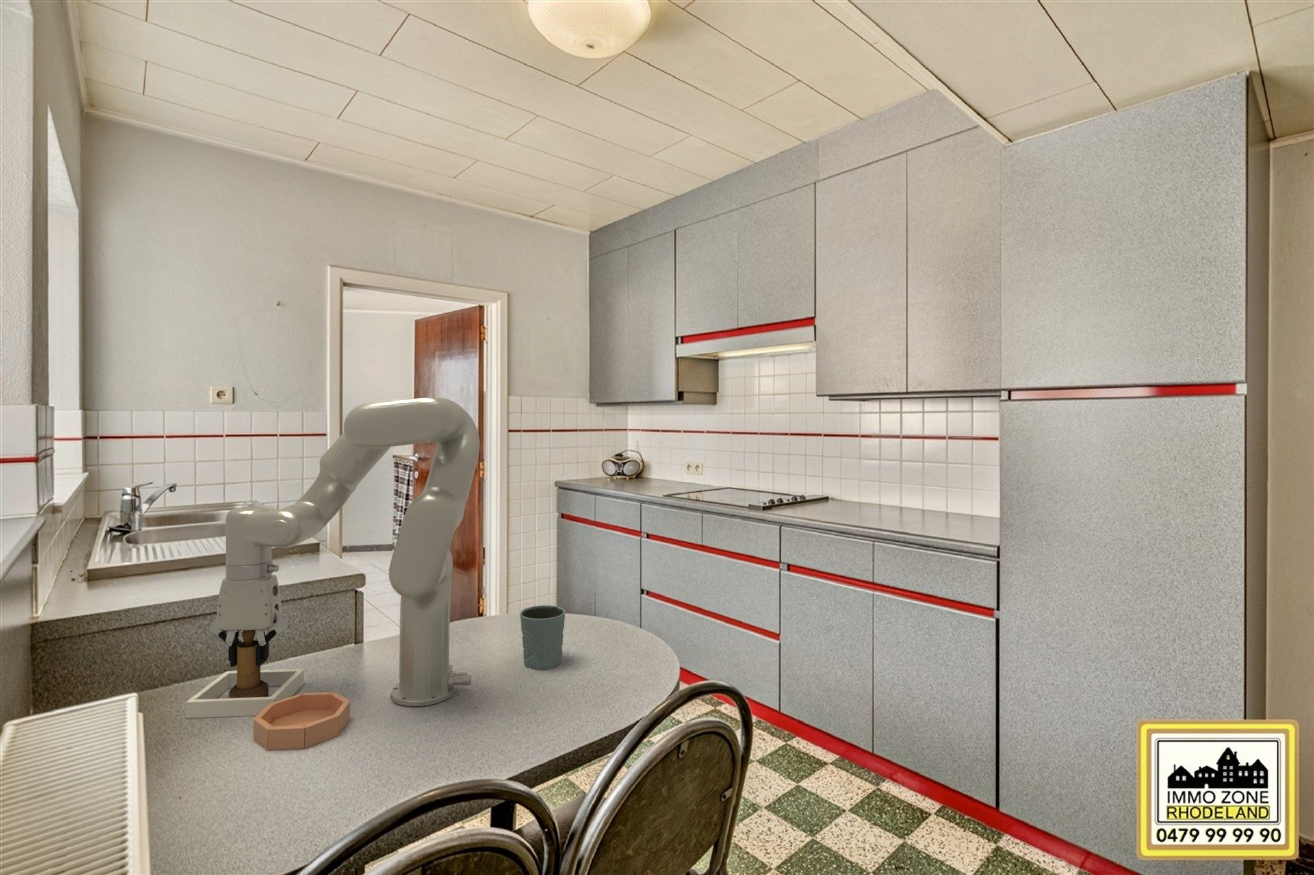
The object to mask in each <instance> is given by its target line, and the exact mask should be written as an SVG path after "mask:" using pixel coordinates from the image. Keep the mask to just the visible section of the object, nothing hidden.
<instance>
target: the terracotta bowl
mask: <svg viewBox="0 0 1314 875" xmlns="http://www.w3.org/2000/svg"><path fill="white" fill-rule="evenodd" d="M350 720H351V700H350V699H348V698H346V697H345V696H343V695H341V694H339V693H338V692H336V691H328V692H327V691H325V692H322V691H321V692H301V693H298V694H296V695H292V696H291V697H289V698H285V699H282V700H279V701H276V702H273V703H270V704H268V705H267V706H266V707H265V708H264V709H263V710H262V711H261V712H260V713H259V714H258V715H257V716H254V718H253V731H252V732H253V736H252V737H253V740H254V741H255V742H256V743H257V744H259V745H261V746H262V747H263V748H264V749H266V750H267V751H278V750H299V749H300V750H301V749H302V750H303V749H307V748H309V747H312V746H315V745H317V744H319V743H322V742H326V741H327V740H330V739H333V738H336V737H338V736H340V734H341V733H342V732H343V731H344V729H345V728H346V726H347V725H348V723H349V722H350Z"/></svg>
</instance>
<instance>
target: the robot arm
mask: <svg viewBox="0 0 1314 875" xmlns="http://www.w3.org/2000/svg"><path fill="white" fill-rule="evenodd" d="M435 442H436V450H435V453H434V456H433V459H432V461H431V464H430V468H429V473H428V476H427V479H426V482H425V486H424V488H423V491H422V492H421V494H419V495H417V497H415V498H414V499H413V500H412V501H411V503H410V504H409V505H408V506H407V509H406V511H405V513H404V515H403V519H402V521H401V525H400V528H399V532H398V535H397V538H396V543H395V546H394V548H393V549H394V550H393V553H392V554H391V555H392V556H391V559H390V563H389V568H388V579H389V583H390V585H391V587H392V589H393V590H394V591H395V592H396V593H397V594H398V595H400V603H399V606H400V607H399V661H398V663H399V664H398V666H399V667H398V668H399V669H398V671H399V672H398V673H399V674H398V677H399V678H398V681H399V682H398V683H396V684H395V685H394V686H393V687H392V688H391V690H390V699H391V701H392V702H394V703H395V704H398V705H400V706H405V707H406V706H407V707H425V706H430V705H434V704H438V703H441V702H443V701H446V700H448V699H449V698H451V697H452V696H454V695H455V693H456V692H457V691H458V690H457V689H458V686H471V683H472V675H471V674H469V675H468V672H467V671H460V672H459V671H458V672H456V671H455V670H454V668H453V666H454V665H453V664H450V639H451V637H450V632H451V631H450V627H451V626H450V623H451V622H450V620H451V619H450V617H451V593H452V592H451V591H452V578H453V566H454V564H453V563H454V562H453V556H452V552H451V550H450V547H451V544H452V540H453V537H454V533H455V531H456V529H457V528H458V527H459V526H460V525H461V523H462V521H463V518H464V516H465V515H464V514H465V511H466V510H465V509H466V505H467V502H468V498H469V494H470V490H471V487H472V483H473V479H474V475H475V471H476V468H477V464H478V460H479V459H478V458H479V454H480V447H481V446H480V444H481V443H480V442H481V441H480V435H479V430H478V427H477V425H476V423H475V420H473V418H472V416H470V413H468V411H466V410H465V409H464V408H463V407H462V406H461V405H460V404H458V403H457V402H455V401H454V400H451V399H449V398H445V397H444V398H443V397H436V396H435V397H433V396H432V397H431V396H430V397H429V396H427V397H418V398H411V399H401V400H400V399H399V400H392V401H384V402H382V401H381V402H373V403H372V402H369V403H362V404H359V405H357V406H356V407H354V408H353V409H351V411H349V412H348V414H347V415H346V417H345V419H344V422H343V432H342V434H341V435H340V436H339V437H338V438H337V439H336V440H335V441H334V443H332V445H331V446H330V447H329V448H328V449H327V450H326V451H325V452H324V453H323V455H322V456H321V458H320V460H319V473H318V475H317V476H316V479H315V480H314V482H313V483H312V484H311V486H310V487H309V488H308V489H307V490H306V491H305V492H304V494H303V495H301V497H300V498H299V499H298V500H297V502H295V503H294V504H292V505H288V506H286V507H283V508H279V509H275V510H270V509H269V508H267V507H264V506H241V507H235V508H232V509H230V510H229V511H228V512H227V514H226V515H225V578H223V579H222V581H221V583H220V584H221V585H220V588H219V593H218V599H217V607H216V608H217V609H216V618H215V619H214V620H213V622H212V623H211V625H210V626H209V627H208V630H209V632H210V633H212V634H214V635H216V636H218V637H219V639H221V640H222V641H223V642H224V644H225V646H226V647H228V648H227V649H228V650H227V651H228V652H227V654H228V655H227V656H228V658H227V659H228V661H229V667H230V668H234V667H237V645H238V644H239V643H241V642H242V641H241V640H240V637H241V633H242V632H243V631H251V630H256V634H257V635H256V637H257V640H258V646H256V665H257V666H260V667H262V665H264V663H266V662H267V660H268V659H269V657H270V641H271V640H272V639H273V638H275V637H276V636H277V635H278V634H279V633H281V632H283V631H284V630H286V629H287V628H288V627H289V624H288V623H287V621H286V620H285V619H284V617H283V616H282V614H283V612H282V599H281V597H282V596H281V592H280V591H281V590H280V586H279V580H278V576H277V575H276V574H273V573H274V572H275V573H276V572H277V573H278V572H279V570H280V565H279V564H274V562H273V561H274V560H272V555H273V554H272V551H273V550H272V548H276V549H287V548H288V549H289V548H293V547H295V546H297V545H299V544H301V543H302V542H304V541H307V540H308V539H311V538H313V537H314V536H317V534H319V533H320V532H321V531H323V529H324V528H325V527H326V526H327V525H328V524H329V522H331V520H332V519H334V516H336V515H337V514H338V512H339V511H340V510H341V509H342V508H343V506H345V504H346V503H347V502H348V500H349V498H350V497H351V495H352V494H353V493H354V492H355V491H356V489H357V487H358V486H359V484H360V483H361V481H362V480H363V479H364V478H365V477H366V476H367V474H369V472H370V471H371V470H372V469H373V468H374V466H376V465H377V463H378V462H379V461H380V460H381V459H382V458H383V457H384V455H386V453H387V452H388V451H389V450H390V449H391V448H393V447H401V446H410V445H415V444H416V445H417V444H418V445H419V444H427V443H435ZM274 624H275V627H274V628H273V629H272V630H271V628H272V627H273V625H274Z"/></svg>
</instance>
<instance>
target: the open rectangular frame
mask: <svg viewBox="0 0 1314 875" xmlns="http://www.w3.org/2000/svg"><path fill="white" fill-rule="evenodd" d="M260 680H263V681H264V682H266V683H267V684H268V687H279V688H278V689H277V690H276V691H275V692H274V693H273V694H272V695H271V696H268V697H252V698H229V697H227V698H218V697H220V696H221V695H222V694H223V693H224V692H226V691H227V690H228V689H232V688H233V687H234V686H235V685H236V684H237V670H231V671H229V670H227V671H225V672H223V673H222V674H221V675H219V676H218V677H217V678H216V679H214V680H213V681H212V682H210V683H209V684H207V685H206V686H205V687H203V689H201V690H200V691H198V692H197V693H196V694H195V695H193V696H192V697H190V698H189V699H188V700H187V701H185V719H204V718H207V719H208V718H223V717H224V718H225V717H227V718H228V717H229V718H230V717H248V716H249V717H253V716H254V717H256V716H257V715H258V714H259V713H260V712H261V711H262V710H263V709H264V708H265V707H266V706H267V705H268V704H270V703H273V702H276V701H279V700H282V699H285V698H289V697H292V696H294V694H296V693H297V692H298V690H300V688H301V687H303V685H305V668H297V669H296V668H293V669H291V668H289V669H267V670H266V669H265V670H264V669H263V670H261V669H260Z"/></svg>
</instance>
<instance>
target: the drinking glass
mask: <svg viewBox="0 0 1314 875" xmlns="http://www.w3.org/2000/svg"><path fill="white" fill-rule="evenodd" d="M519 615H520V616H519V617H520V619H519V620H520V626H521V628H520V631H521V634H522V636H521V638H522V640H521V641H522V648H523V651H522V652H523V654H522V656H523V664H524V666H525V667H526V668H528V669H529V668H531V669H530V670H533V669H534V670H535V671H547V670H546V669H548V670H552V669H551V668H553V669H555V668H557V666H558V667H559V666H560V665H561V664H562V658H563V657H562V656H563V644H564V629H565V618H566V610H565V609H564V608H562V607H560V606H557V605H547V604H544V605H534V606H529V607H526V608H524V609H522V610H521V611H520V613H519Z"/></svg>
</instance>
